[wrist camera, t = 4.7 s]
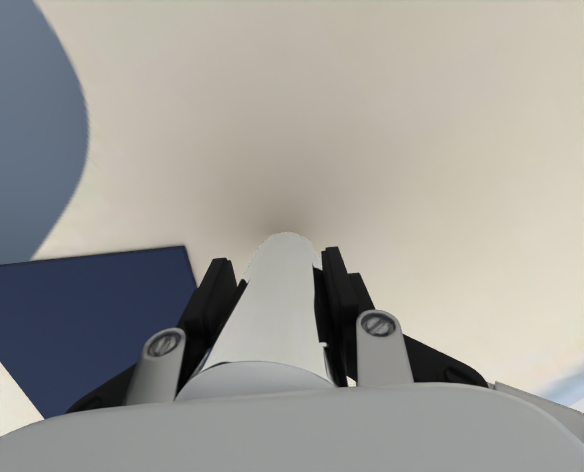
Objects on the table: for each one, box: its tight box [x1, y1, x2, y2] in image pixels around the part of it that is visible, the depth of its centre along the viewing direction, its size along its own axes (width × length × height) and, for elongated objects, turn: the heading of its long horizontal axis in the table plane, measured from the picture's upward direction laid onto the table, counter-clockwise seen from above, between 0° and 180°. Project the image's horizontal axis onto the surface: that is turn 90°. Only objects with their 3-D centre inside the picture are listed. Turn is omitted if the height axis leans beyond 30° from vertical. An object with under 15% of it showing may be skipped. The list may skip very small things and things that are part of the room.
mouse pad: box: [0, 246, 197, 419], centre depth 21 cm, size 20×16×1 cm
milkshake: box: [175, 231, 349, 401], centre depth 9 cm, size 5×5×10 cm
